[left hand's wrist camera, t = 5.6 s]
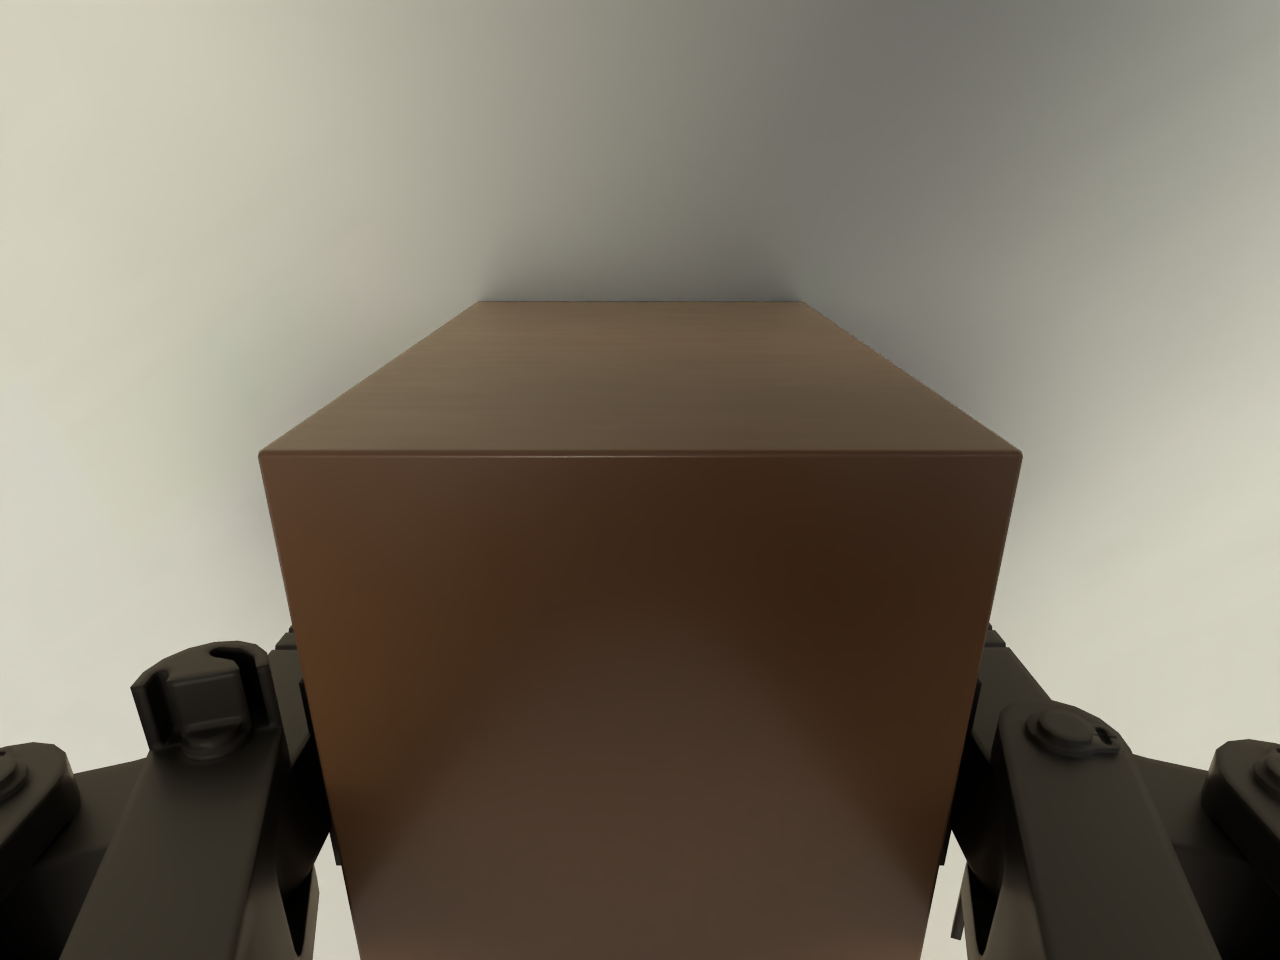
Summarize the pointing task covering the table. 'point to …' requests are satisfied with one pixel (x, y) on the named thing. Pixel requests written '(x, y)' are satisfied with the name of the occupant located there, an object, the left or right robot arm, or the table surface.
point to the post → (640, 633)
